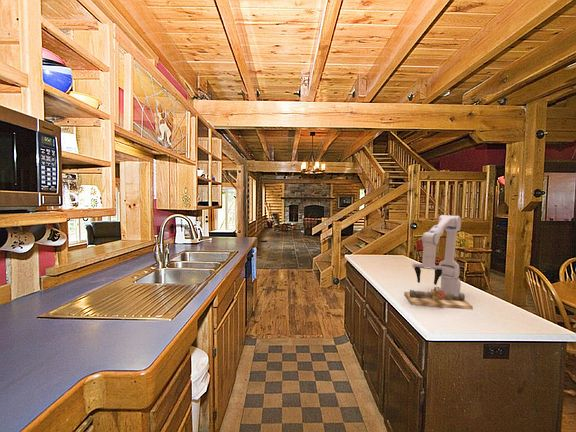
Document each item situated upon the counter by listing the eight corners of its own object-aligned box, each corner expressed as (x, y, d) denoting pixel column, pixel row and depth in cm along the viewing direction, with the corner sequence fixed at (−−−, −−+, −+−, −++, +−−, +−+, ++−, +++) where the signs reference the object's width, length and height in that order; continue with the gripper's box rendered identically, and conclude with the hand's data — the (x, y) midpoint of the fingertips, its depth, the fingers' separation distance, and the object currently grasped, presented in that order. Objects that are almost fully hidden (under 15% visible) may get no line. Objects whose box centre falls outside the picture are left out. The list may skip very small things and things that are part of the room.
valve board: (459, 298, 160) (460, 287, 159) (472, 309, 144) (473, 297, 143) (404, 294, 164) (404, 284, 164) (411, 304, 149) (411, 293, 148)
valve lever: (433, 289, 155) (433, 286, 155) (438, 289, 155) (438, 286, 155) (440, 296, 144) (440, 293, 144) (445, 296, 144) (446, 293, 144)
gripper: (414, 255, 147) (412, 283, 147) (447, 259, 144) (444, 287, 144) (412, 254, 154) (410, 280, 154) (443, 257, 151) (441, 283, 151)
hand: (426, 283), depth 149 cm, fingers open, 7 cm apart
